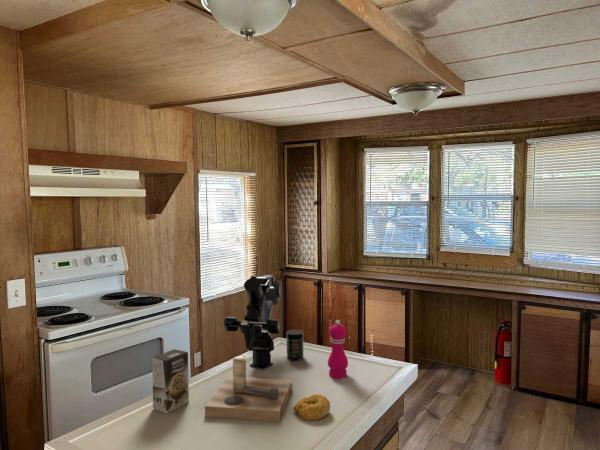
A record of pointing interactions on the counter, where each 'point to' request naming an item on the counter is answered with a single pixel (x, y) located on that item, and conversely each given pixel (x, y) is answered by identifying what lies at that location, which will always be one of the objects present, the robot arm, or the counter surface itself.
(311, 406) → the bagel
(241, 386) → the folding leg
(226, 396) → the stool seat
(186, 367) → the coffee box
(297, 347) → the supplement container
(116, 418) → the counter surface
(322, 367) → the counter surface
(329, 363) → the pepper mill
